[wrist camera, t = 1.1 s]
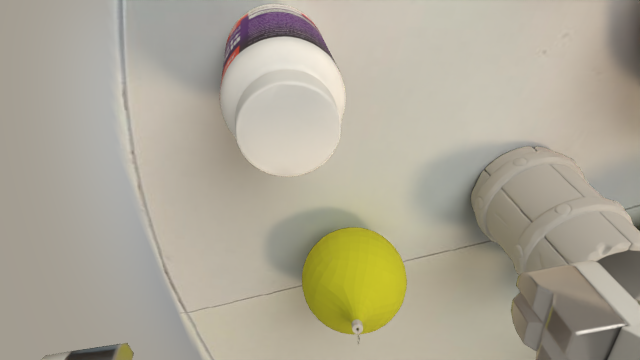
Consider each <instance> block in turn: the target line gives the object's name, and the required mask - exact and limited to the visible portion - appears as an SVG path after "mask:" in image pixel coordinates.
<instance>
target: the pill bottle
mask: <svg viewBox="0 0 640 360" xmlns="http://www.w3.org/2000/svg"><path fill="white" fill-rule="evenodd" d="M345 103H346V94H345V87H344V83H343V79H342V76H341V74H340V71H339V69H338V67H337V65H336V63H335V61H334V59H333V57H332V55H331V53H330V51H329V50H328V48H327V46H326V44H325V42H324V40H323V38H322V35H321V34H320V32H319V30H318V29H317V27H316V26H315V24H314V23H313V22H312V21H311V20H310V19H309V18H308V17H307V16H306V15H305V14H304V13H302V12H301V11H299V10H297V9H295V8H293V7H290V6H287V5H282V4H266V5H262V6H259V7H256V8H254V9H252V10H250V11H248V12H247V13H245V14H244V15H243V16H242V17H241V18H240V19H239V20H238V21H237V22H236V23H235V25H234V26H233V28H232V30H231V32H230V34H229V37H228V40H227V43H226V49H225V57H224V65H223V72H222V80H221V87H220V105H221V110H222V114H223V117H224V119H225V122H226V124H227V126H228V128H229V130H230V131H231V133H232V134H233V135H234V136H235V138H236V141H237V144H238V147H239V149H240V151H241V153H242V154H243V156H244V157H245V158H246V159H247V161H248V162H249V163H251V164H252V165H253V166H254V167H256V168H257V169H259V170H261V171H263V172H265V173H268V174H271V175H274V176H281V177H293V176H299V175H303V174H306V173H309V172H311V171H313V170H315V169H317V168H319V167H320V166H321V165H322V164H324V163H325V162H326V161H327V160H328V159H329V158H330V157H331V155H332V154H333V153H334V151H335V149H336V147H337V145H338V143H339V140H340V135H341V120H342V117H343V115H344V110H345Z"/></svg>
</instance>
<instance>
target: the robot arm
mask: <svg viewBox="0 0 640 360" xmlns="http://www.w3.org/2000/svg"><path fill="white" fill-rule="evenodd" d="M516 286H517V287H518V289H519V290H520V293H519V294H518V295H517V296H516V297H515V298H514V299H513V302H512V308H511V314H512V319H513V324H514V326H515V329H516V331H517V333H518V335H519V337H520V338H521V340H522V342H523V343H524V344H525V345H527V346H528V347H530V348H532V349H533V350H535V351H537V352H536V360H640V305H639V304H638V303H637V302H636V301H635V300H634V299H633V298H632V297H631V296H630V295H629V294H628V293H627V292H626V291H625V290H624V289H623V287H622V286H621V285H620V284H619V283H618V282H617V281H616V280H615V279H614V278H613V277H612V276H611V275H610V274H609V273H608V272H607V271H606V270H605V269H604V268H603V267H602V266H601V265H600V264H599V263H597V262H595V261H593V260H589V261H583V262H577V263H572V264H567V265H566V264H564V265H558V266H553V267H548V268H543V269H537V270H532V271H527V272H522V273H521V274H520V275H519V276H518V279H517V283H516ZM133 354H134V353H133V351H132V350H131V348H130V346H129V345H128V343H124V344H117V345H110V346H103V347H96V348H90V349H83V350H77V351H71V352H64V353H58V354H52V355H46V356H44V357H43V358H42V360H132V358H133Z"/></svg>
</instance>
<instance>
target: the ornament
mask: <svg viewBox="0 0 640 360" xmlns="http://www.w3.org/2000/svg"><path fill="white" fill-rule="evenodd" d="M406 285H407V279H406V272H405V267H404V264H403V262H402V259H401V257H400V255H399V253H398V252H397V250H396V249H395V248H394V246H393V245H392V244H391V243H390V242H389V241H388V240H386V239H385V238H384V237H383V236H381V235H379V234H378V233H376V232H374V231H371V230H368V229H364V228H358V227H355V228H344V229H339V230H336V231H334V232H331V233H329V234H328V235H326V236H324V237H323V238H322V239H321V240H320V241H319V242H318V243H317V244H316V245H315V246H314V247H313V248H312V250H311V251H310V252H309V254H308V256H307V259H306V261H305V264H304V267H303V272H302V288H303V292H304V296H305V299H306V302H307V304H308V306H309V308H310V310H311V311H312V312H313V314H314V315H315V316H316V317H317V318H318V319H319V320H320V321H321V322H322V323H323V324H325V325H326V326H328V327H330V328H331V329H333V330H336V331H338V332H341V333H346V334H364V333H369V332H373V331H376V330H378V329H379V328H381V327H383V326H384V325H386V324H387V323H388V322H389V321H390V320H391V319H392V318H393V317H394V315H395V314H396V313H397V312H398V310H399V309H400V307H401V305H402V303H403V300H404V296H405V292H406ZM359 339H360V338H359ZM359 341H360V340H359ZM358 344H359V343H358Z"/></svg>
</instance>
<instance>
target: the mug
mask: <svg viewBox="0 0 640 360" xmlns="http://www.w3.org/2000/svg"><path fill="white" fill-rule="evenodd" d="M485 169H486V171H484V170H483V171H482V173H481V175H480V177H479V179H478V181H477V183H476V185H475V187H474V188H473V191H472V195H471V204H472V208H473V210H474V211H475V212H474V213H475V214H476V220H477V223H478V225H479V227H480V229H481V230H482V231H483V233H484V234H485V235H486V236H487V237H488V238H489V239H490V240H491V241H493V242H496V243H498V244H499V245H500V246H501V247H502V249H503V250H504V251H505V252H506V254H507V255H508V256H509V257H510V259H511V260H512V261H513V263H514V267H515V270H516V272H517V273H518V275H520V274H521V273H522V272H527V271H532V270H537V269H543V268H548V267H553V266H558V265H564V264H566V265H567V264H572V263H577V262H583V261H589V260H593V261H595V262H597V263H599V264H600V265H601V266H602V267H603V268H604V269H605V270H606V271H607V272H608V273H609V274H610V275H611V276H612V277H613V278H614V279H615V280H616V281H617V282H618V283H619V284H620V285H621V286H622V287H623V289H624V290H625V291H626V292H627V293H628V294H629V295H630V296H631V297H632V298H633V299H634V300H635V301H636V302H637V303H638V301H640V231H639V230H638V229H637V228H636V227H635V226H633V222H632V219H631V218H630V216H629V215H628V213H627V212H626V211H625V210H624V208H623V206H622V205H621V204H620V203H618V202H617V201H614V200H609V199H606V198H604V197H603V196H602V195H600V194H599V193H598V192H597V191H596V190H595V189H594V188H593V187H592V186H591V185H590V184H589V183H588V182H587V181H586V180H585V178H584V175H583V173H582V171H581V170H580V168H579V167H578V166H577V165H576V163H575V162H574V160H572V159H571V158H568V157H566V156H565V155H563V154H560V153H556V152H553V151H551V150H549V149H547V148H544V147H537V146H536V147H535V148H534V149H533V148H532V147H530V146H526V147H521V148H518V149H515V150H512V151H509V152H507V153H505V154H503V155H501V156H500V157H498V158H497V159H496V160H494V161H493V162H492V163H490V164H489V165H488V166H487V167H486V168H485ZM637 300H638V301H637Z"/></svg>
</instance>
